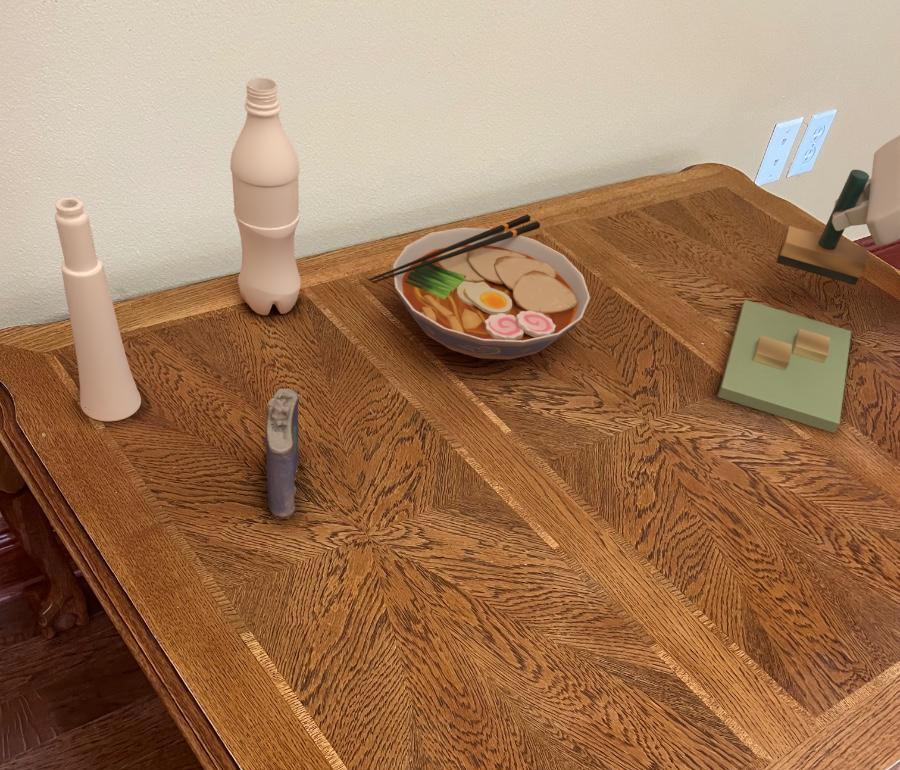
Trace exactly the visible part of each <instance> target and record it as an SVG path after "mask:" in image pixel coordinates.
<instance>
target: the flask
mask: <svg viewBox="0 0 900 770" xmlns="http://www.w3.org/2000/svg"><path fill="white" fill-rule="evenodd" d="M299 397H300V396H299V394H298V392H296V391H295V390H294V389H292V388H290V387H289V388H288V387H287V388H286V387H284V388H279V389H277V390H276V391H275V392H274V394H273V396H272V398H271V399H269V401H268V402H267V406H268V408H267V411H266V417H265V426H264V427H265V428H264V433H265V451H266V478H267V481H266V483H267V484H266V486H267V503H268V508H269V512H270V515H271V516H272V517H273V518H274V519H276V520H290V519H291V517H293V516H294V513H295V509H296V504H295V503H296V502H295V497H296V493H297V487H296V485H295V481H297V478H296V474H297V472H298V467H299V399H300V398H299Z"/></svg>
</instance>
